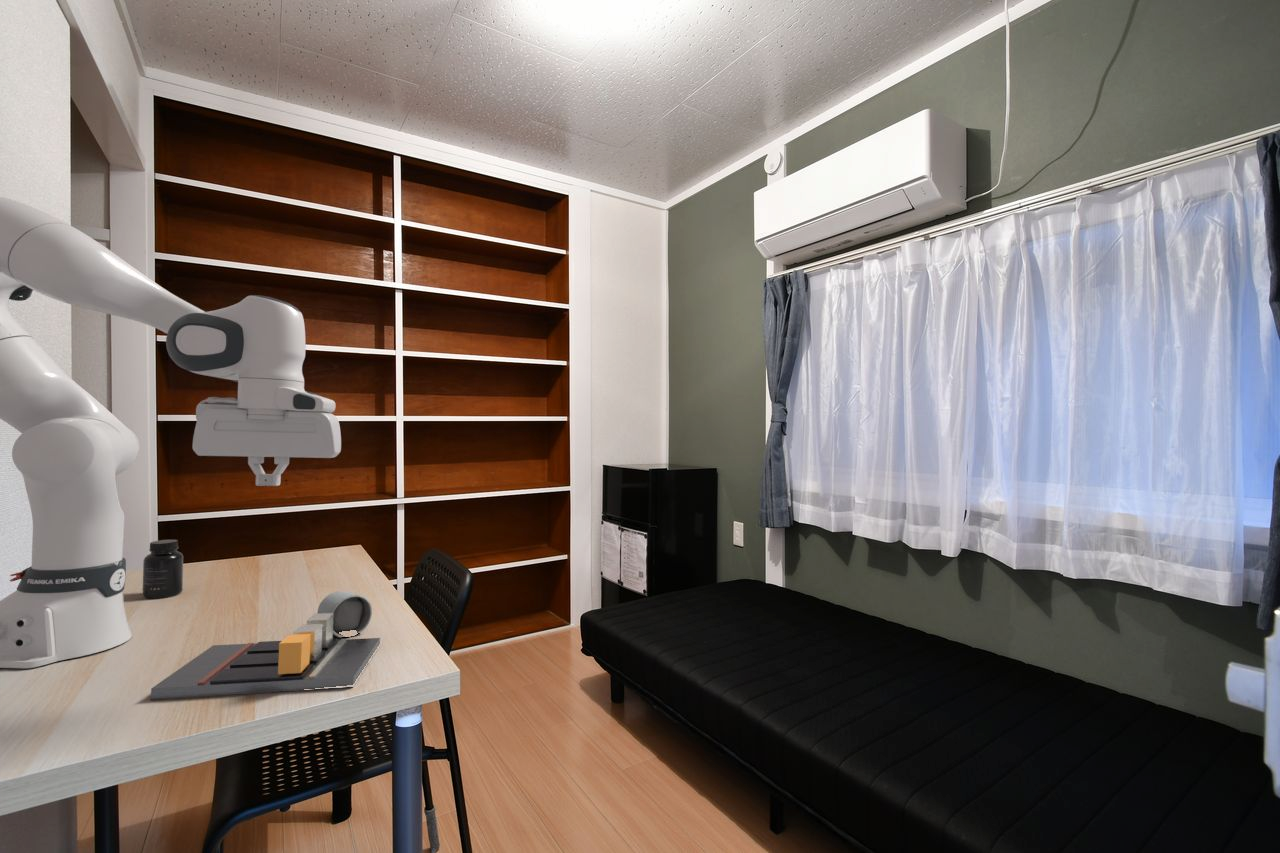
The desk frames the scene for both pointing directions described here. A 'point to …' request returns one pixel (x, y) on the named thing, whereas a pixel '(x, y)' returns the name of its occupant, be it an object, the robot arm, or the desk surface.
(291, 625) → the desk surface
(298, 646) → the toggle
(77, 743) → the desk surface
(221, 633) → the desk surface
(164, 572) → the supplement bottle
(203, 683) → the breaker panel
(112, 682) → the desk surface
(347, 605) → the ceramic mug
